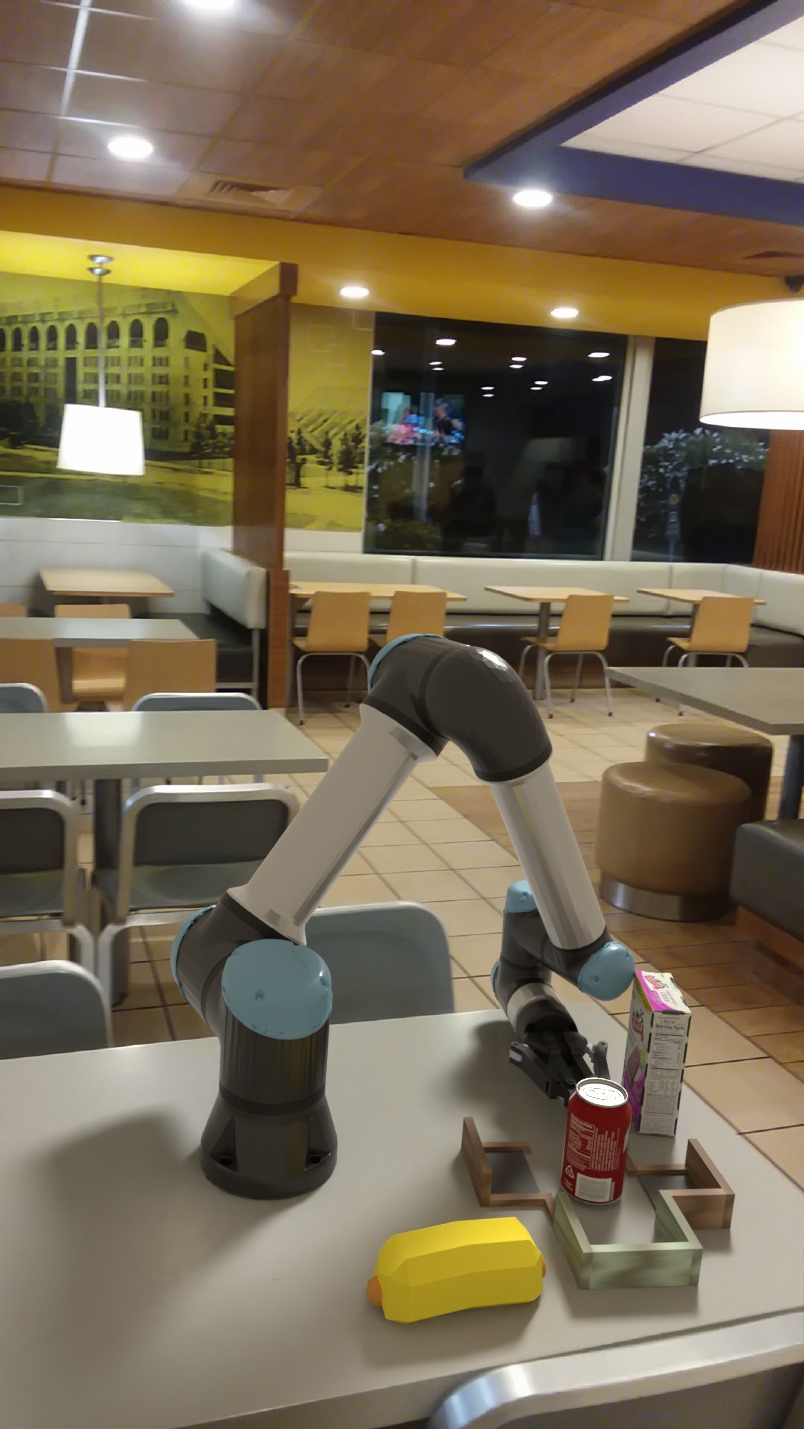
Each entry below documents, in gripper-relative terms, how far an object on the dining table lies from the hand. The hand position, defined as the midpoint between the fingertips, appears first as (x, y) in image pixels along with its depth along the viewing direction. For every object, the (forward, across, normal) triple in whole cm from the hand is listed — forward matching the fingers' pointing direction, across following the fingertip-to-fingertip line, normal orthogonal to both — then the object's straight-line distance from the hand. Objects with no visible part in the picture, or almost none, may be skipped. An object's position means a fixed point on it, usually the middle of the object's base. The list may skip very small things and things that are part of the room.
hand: (600, 1125), depth 119 cm
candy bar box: (-12, -11, -6) cm, 17 cm away
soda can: (+3, +2, -6) cm, 7 cm away
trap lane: (+6, +1, -6) cm, 9 cm away
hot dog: (+17, +19, -6) cm, 27 cm away
